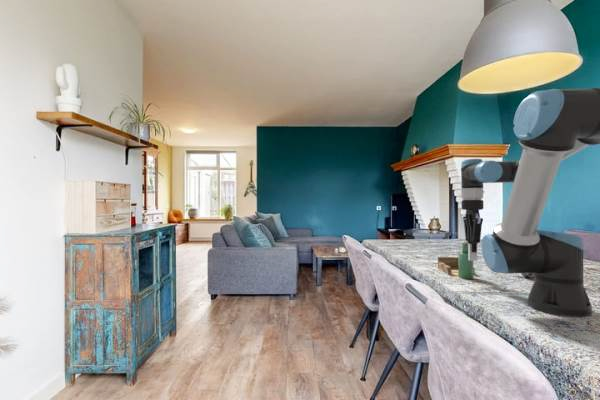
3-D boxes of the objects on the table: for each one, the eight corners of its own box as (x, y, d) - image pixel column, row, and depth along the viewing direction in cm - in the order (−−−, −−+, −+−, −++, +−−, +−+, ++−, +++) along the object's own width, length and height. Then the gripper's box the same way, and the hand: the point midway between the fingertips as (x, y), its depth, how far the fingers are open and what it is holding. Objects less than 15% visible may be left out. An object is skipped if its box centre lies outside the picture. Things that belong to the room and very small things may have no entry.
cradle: (482, 281, 133) (482, 266, 133) (453, 281, 134) (453, 266, 134) (461, 270, 155) (461, 257, 155) (437, 270, 156) (436, 256, 156)
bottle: (475, 279, 133) (475, 242, 133) (461, 279, 133) (461, 242, 133) (470, 276, 138) (469, 240, 138) (456, 275, 138) (456, 240, 138)
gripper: (490, 199, 122) (490, 263, 122) (475, 199, 135) (475, 257, 135) (468, 199, 122) (469, 263, 122) (456, 199, 135) (456, 257, 135)
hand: (472, 260), depth 128 cm, fingers closed
